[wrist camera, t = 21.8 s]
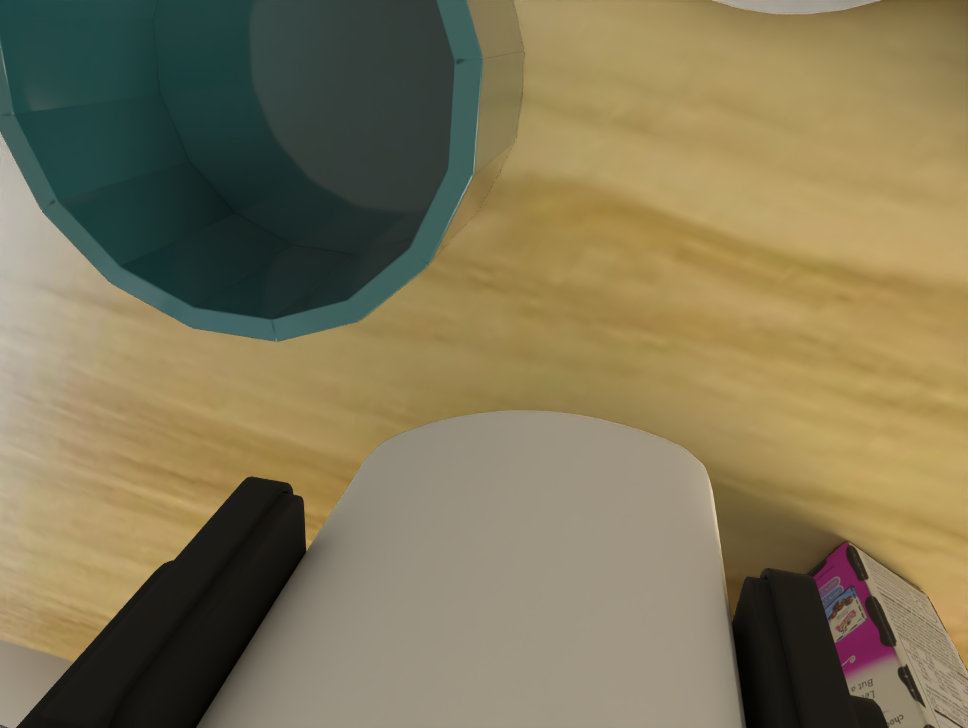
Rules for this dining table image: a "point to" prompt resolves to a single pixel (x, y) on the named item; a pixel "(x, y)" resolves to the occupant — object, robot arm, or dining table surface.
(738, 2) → the lid
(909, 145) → the dining table surface
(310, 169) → the canister
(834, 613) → the candy bar box
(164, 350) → the dining table surface
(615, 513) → the eye dropper bottle
